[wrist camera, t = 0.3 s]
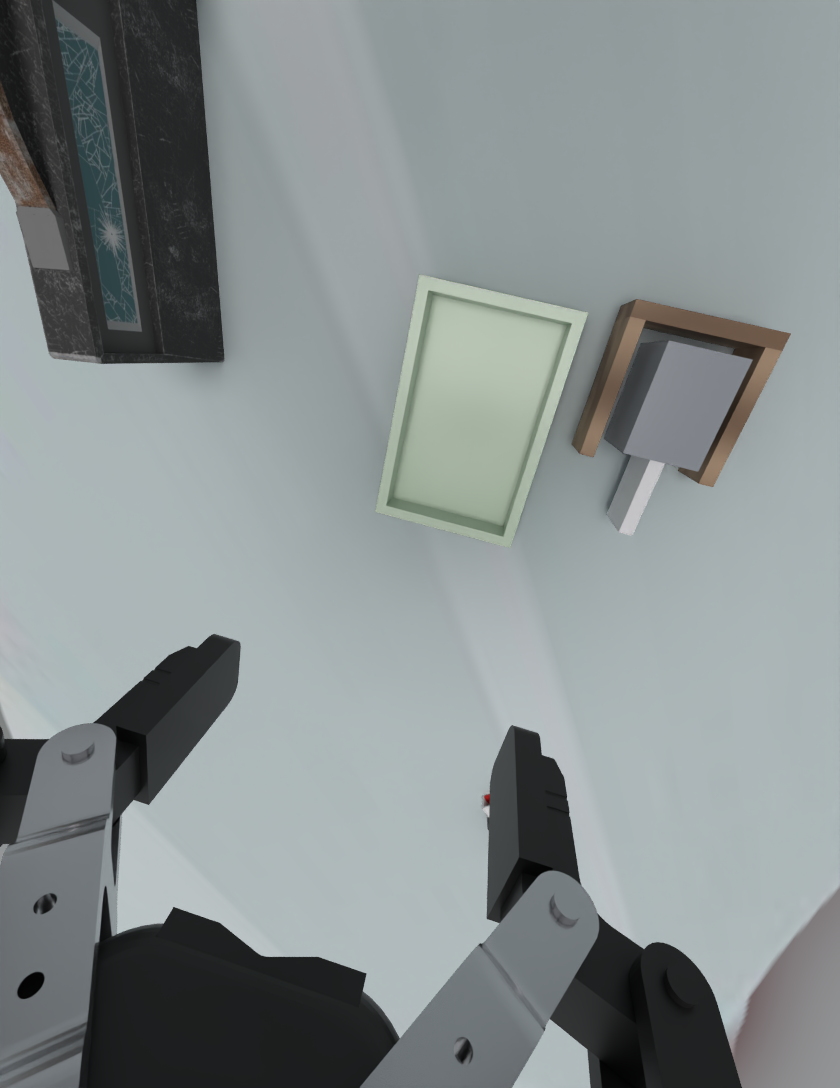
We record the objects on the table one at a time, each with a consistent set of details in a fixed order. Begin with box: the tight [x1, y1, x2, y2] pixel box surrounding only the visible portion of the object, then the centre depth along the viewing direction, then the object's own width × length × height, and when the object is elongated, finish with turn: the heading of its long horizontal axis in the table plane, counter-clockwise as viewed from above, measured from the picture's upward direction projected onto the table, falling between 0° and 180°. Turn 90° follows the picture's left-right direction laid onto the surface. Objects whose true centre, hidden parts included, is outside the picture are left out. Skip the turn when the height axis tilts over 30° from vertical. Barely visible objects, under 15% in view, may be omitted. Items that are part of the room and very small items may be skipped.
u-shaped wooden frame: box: [572, 299, 791, 487], centre depth 32 cm, size 10×10×4 cm
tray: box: [375, 274, 588, 548], centre depth 35 cm, size 18×12×3 cm, turn 168°
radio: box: [0, 0, 224, 364], centre depth 24 cm, size 25×4×20 cm, turn 175°
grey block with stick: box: [604, 341, 753, 536], centre depth 32 cm, size 12×5×6 cm, turn 168°
